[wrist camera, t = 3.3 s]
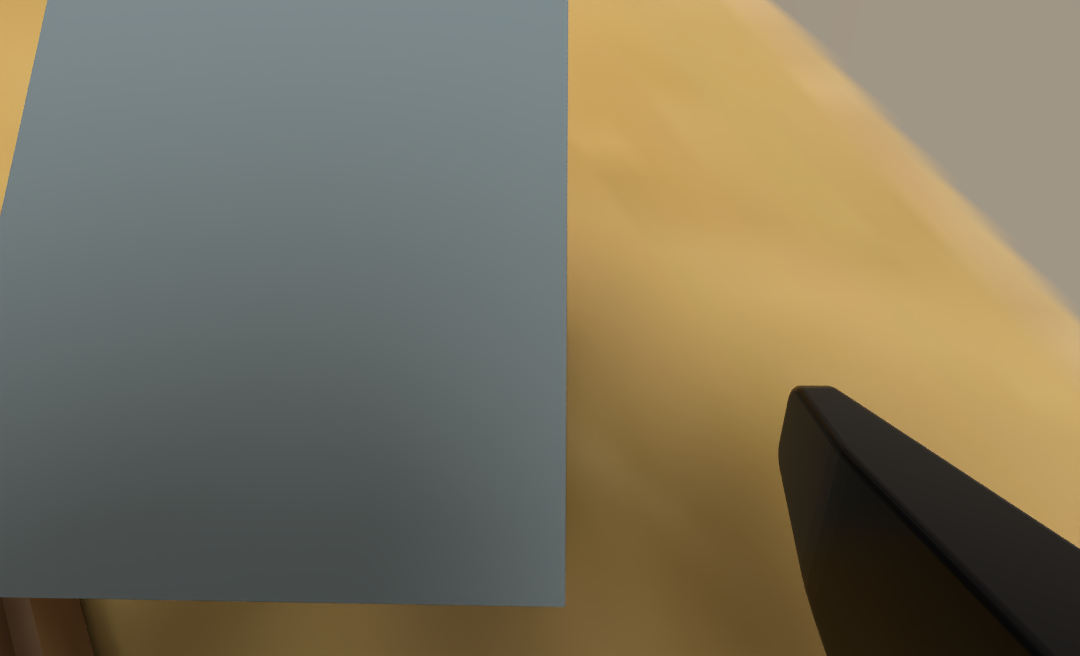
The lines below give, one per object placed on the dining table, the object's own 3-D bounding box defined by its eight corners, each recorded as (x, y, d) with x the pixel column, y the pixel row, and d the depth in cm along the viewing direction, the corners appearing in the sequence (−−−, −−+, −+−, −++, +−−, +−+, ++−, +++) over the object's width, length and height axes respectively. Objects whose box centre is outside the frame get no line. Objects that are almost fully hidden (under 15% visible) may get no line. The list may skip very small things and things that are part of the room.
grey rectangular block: (561, 548, 16) (564, 607, 4) (378, 545, 16) (-84, 595, 5) (562, 321, 17) (569, -92, 6) (393, 319, 17) (66, -87, 6)
